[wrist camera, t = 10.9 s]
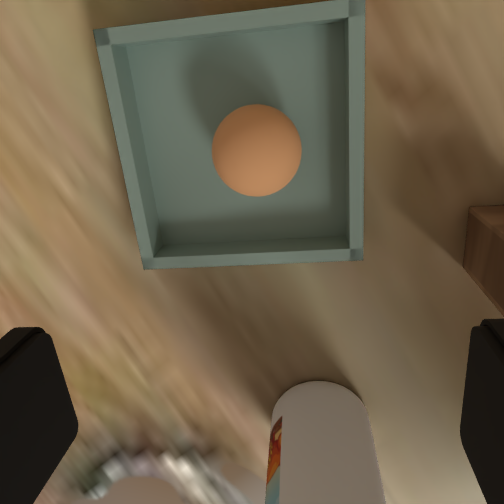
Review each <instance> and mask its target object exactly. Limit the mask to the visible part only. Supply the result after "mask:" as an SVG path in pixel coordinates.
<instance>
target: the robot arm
mask: <svg viewBox="0 0 504 504" xmlns="http://www.w3.org/2000/svg"><path fill="white" fill-rule="evenodd" d="M77 432H78V420H77V417H76V414H75V410H74V407H73V404H72V401H71V398H70V395H69V391H68V388H67V385H66V382H65V379H64V375H63V372H62V369H61V366H60V363H59V360H58V356H57V353H56V350H55V347H54V344H53V340H52V338H51V336H50V335H49V334H47V333H45V331H44V330H43V329H42V328H40V327H18V328H13V329H12V330H10V331H9V332H8V333H7V334H5V335H4V336H3V337H2V338H1V339H0V504H33V503H34V501H35V500H36V498H37V497H38V495H39V494H40V492H41V490H42V489H43V487H44V486H45V484H46V483H47V481H48V480H49V478H50V476H51V475H52V473H53V472H54V470H55V469H56V467H57V466H58V464H59V462H60V461H61V459H62V458H63V456H64V455H65V453H66V452H67V450H68V448H69V447H70V445H71V444H72V442H73V441H74V439H75V437H76V435H77ZM460 436H461V441H462V445H463V448H464V450H465V452H466V455H467V457H468V460H469V462H470V464H471V467H472V469H473V471H474V474H475V476H476V478H477V481H478V483H479V486H480V488H481V490H482V493H483V495H484V497H485V500H486V502H487V504H504V319H484V320H482V322H481V324H480V326H474V327H473V328H472V330H471V336H470V345H469V354H468V363H467V372H466V380H465V389H464V398H463V407H462V415H461V424H460Z"/></svg>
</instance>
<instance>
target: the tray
mask: <svg viewBox="0 0 504 504" xmlns="http://www.w3.org/2000/svg"><path fill="white" fill-rule="evenodd" d="M93 32H94V37H95V42H96V46H97V51H98V56H99V61H100V65H101V70H102V75H103V80H104V84H105V89H106V94H107V98H108V103H109V108H110V113H111V117H112V122H113V127H114V132H115V136H116V141H117V146H118V150H119V155H120V160H121V165H122V169H123V174H124V179H125V184H126V188H127V193H128V198H129V202H130V207H131V212H132V217H133V221H134V226H135V231H136V236H137V240H138V245H139V250H140V254H141V259H142V264H143V269H144V270H145V269H168V268H192V267H215V266H239V265H263V264H286V263H310V262H333V261H357V260H363V226H364V104H365V0H333V1H324V2H316V3H308V4H300V5H291V6H283V7H275V8H267V9H258V10H250V11H242V12H234V13H225V14H217V15H209V16H201V17H192V18H184V19H176V20H168V21H160V22H151V23H143V24H135V25H127V26H118V27H110V28H102V29H94V30H93ZM252 104H262V105H267V106H271V107H273V108H276V109H278V110H279V111H281V112H282V113H284V114H285V115H286V116H287V117H288V118H289V119H290V120H291V121H292V122H293V124H294V125H295V127H296V129H297V131H298V133H299V136H300V140H301V146H302V154H301V161H300V165H299V167H298V170H297V172H296V174H295V175H294V177H293V178H292V180H291V181H290V182H289V183H288V184H287V185H286V186H285V187H283V188H282V189H281V190H279V191H277V192H275V193H273V194H270V195H266V196H260V197H254V196H246V195H243V194H240V193H238V192H236V191H234V190H233V189H231V188H230V187H229V186H227V185H226V184H225V183H224V182H223V180H222V179H221V178H220V176H219V175H218V173H217V171H216V169H215V166H214V163H213V159H212V142H213V138H214V135H215V132H216V130H217V128H218V126H219V125H220V123H221V122H222V121H223V119H224V118H225V117H226V116H227V115H229V114H230V113H231V112H233V111H234V110H236V109H238V108H240V107H243V106H246V105H252Z"/></svg>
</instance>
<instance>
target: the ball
mask: <svg viewBox="0 0 504 504" xmlns="http://www.w3.org/2000/svg"><path fill="white" fill-rule="evenodd" d="M301 154H302V146H301V140H300V136H299V133H298V131H297V129H296V127H295V125H294V124H293V122H292V121H291V120H290V119H289V118H288V117H287V116H286V115H285V114H284V113H282V112H281V111H279V110H278V109H276V108H273V107H271V106H267V105H262V104H252V105H246V106H243V107H240V108H238V109H236V110H234V111H233V112H231V113H230V114H229V115H227V116H226V117H225V118H224V119H223V121H222V122H221V123H220V125H219V126H218V128H217V130H216V132H215V135H214V138H213V142H212V159H213V163H214V166H215V169H216V171H217V173H218V175H219V176H220V178H221V179H222V180H223V182H224V183H225V184H226V185H227V186H229V187H230V188H231V189H233V190H234V191H236V192H238V193H240V194H243V195H246V196H254V197H260V196H266V195H270V194H273V193H275V192H277V191H279V190H281V189H282V188H283V187H285V186H286V185H287V184H288V183H289V182H290V181H291V180H292V178H293V177H294V175H295V174H296V172H297V170H298V167H299V165H300V161H301Z"/></svg>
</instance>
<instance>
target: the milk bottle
mask: <svg viewBox="0 0 504 504" xmlns="http://www.w3.org/2000/svg"><path fill="white" fill-rule="evenodd" d="M265 504H386V501H385V496H384V490H383V485H382V480H381V475H380V470H379V465H378V460H377V455H376V450H375V445H374V440H373V435H372V430H371V425H370V421H369V417H368V413H367V410H366V408H365V406H364V404H363V403H362V401H361V400H360V399H359V398H358V397H357V396H356V395H355V394H354V393H353V392H352V391H351V390H349V389H347V388H345V387H344V386H342V385H339V384H336V383H333V382H327V381H310V382H305V383H301V384H298V385H296V386H294V387H292V388H290V389H289V390H288V391H286V392H285V393H284V394H283V395H282V396H281V397H280V398H279V400H278V401H277V403H276V404H275V407H274V409H273V414H272V422H271V433H270V445H269V457H268V470H267V483H266V499H265Z"/></svg>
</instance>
